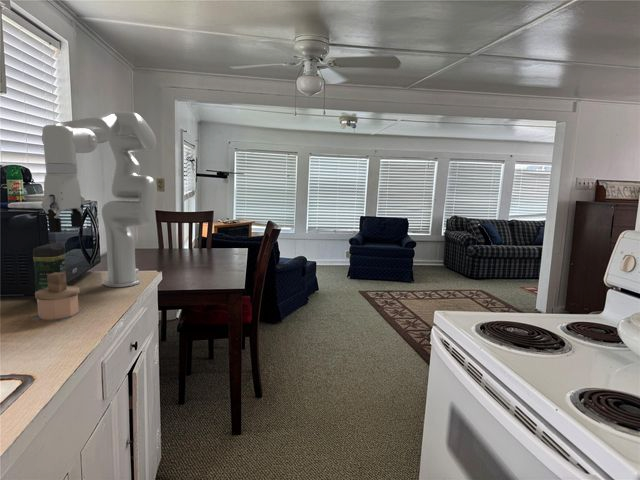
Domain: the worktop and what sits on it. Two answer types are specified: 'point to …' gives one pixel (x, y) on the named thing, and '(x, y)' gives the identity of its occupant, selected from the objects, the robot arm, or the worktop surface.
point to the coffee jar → (48, 263)
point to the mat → (59, 319)
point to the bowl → (58, 308)
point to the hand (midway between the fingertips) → (66, 229)
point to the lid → (57, 288)
